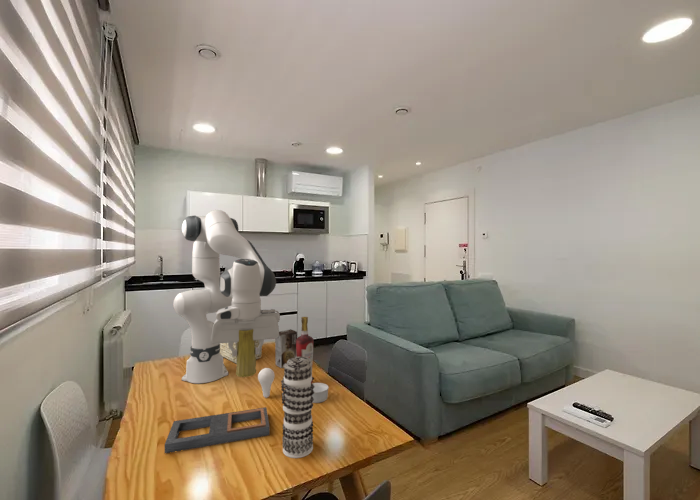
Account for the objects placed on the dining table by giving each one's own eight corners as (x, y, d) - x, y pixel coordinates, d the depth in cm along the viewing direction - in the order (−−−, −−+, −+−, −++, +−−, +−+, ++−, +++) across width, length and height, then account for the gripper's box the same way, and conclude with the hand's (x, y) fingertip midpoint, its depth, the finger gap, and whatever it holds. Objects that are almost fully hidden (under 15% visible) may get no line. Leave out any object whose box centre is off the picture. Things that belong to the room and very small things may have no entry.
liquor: (305, 379, 140) (305, 314, 140) (317, 384, 135) (317, 317, 136) (292, 385, 135) (292, 317, 135) (303, 389, 130) (303, 319, 130)
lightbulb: (270, 401, 120) (270, 371, 120) (255, 400, 121) (255, 370, 121) (277, 394, 126) (277, 366, 126) (262, 393, 127) (262, 365, 127)
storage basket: (264, 358, 169) (264, 330, 169) (235, 366, 158) (235, 335, 158) (242, 348, 186) (242, 323, 186) (214, 355, 174) (214, 327, 174)
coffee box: (291, 360, 165) (291, 329, 165) (297, 364, 160) (297, 331, 160) (274, 364, 159) (274, 331, 159) (281, 368, 154) (281, 334, 154)
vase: (239, 379, 98) (239, 332, 98) (233, 372, 103) (233, 327, 103) (259, 374, 102) (259, 329, 101) (252, 368, 107) (252, 325, 106)
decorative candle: (283, 439, 95) (283, 354, 95) (315, 438, 96) (314, 353, 96) (278, 459, 86) (278, 365, 86) (313, 458, 87) (313, 364, 87)
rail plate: (173, 429, 101) (173, 420, 101) (266, 414, 110) (266, 406, 110) (164, 453, 89) (164, 443, 89) (269, 435, 98) (269, 425, 98)
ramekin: (300, 398, 123) (300, 386, 123) (319, 391, 129) (319, 380, 129) (313, 406, 116) (313, 394, 116) (333, 399, 122) (333, 387, 122)
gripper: (278, 307, 109) (278, 348, 108) (212, 310, 102) (212, 355, 102) (280, 310, 103) (280, 354, 102) (210, 314, 96) (210, 361, 96)
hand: (246, 354), depth 102 cm, fingers closed on vase, 5 cm apart
